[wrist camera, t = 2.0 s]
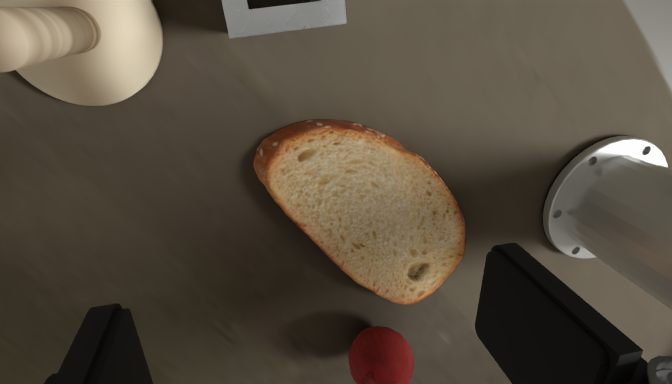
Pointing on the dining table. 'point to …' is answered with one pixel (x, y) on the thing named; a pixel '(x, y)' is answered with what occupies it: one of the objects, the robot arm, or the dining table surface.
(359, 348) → the onion
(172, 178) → the dining table surface
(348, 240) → the bread slice
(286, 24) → the collar
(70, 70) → the peg on disc base
